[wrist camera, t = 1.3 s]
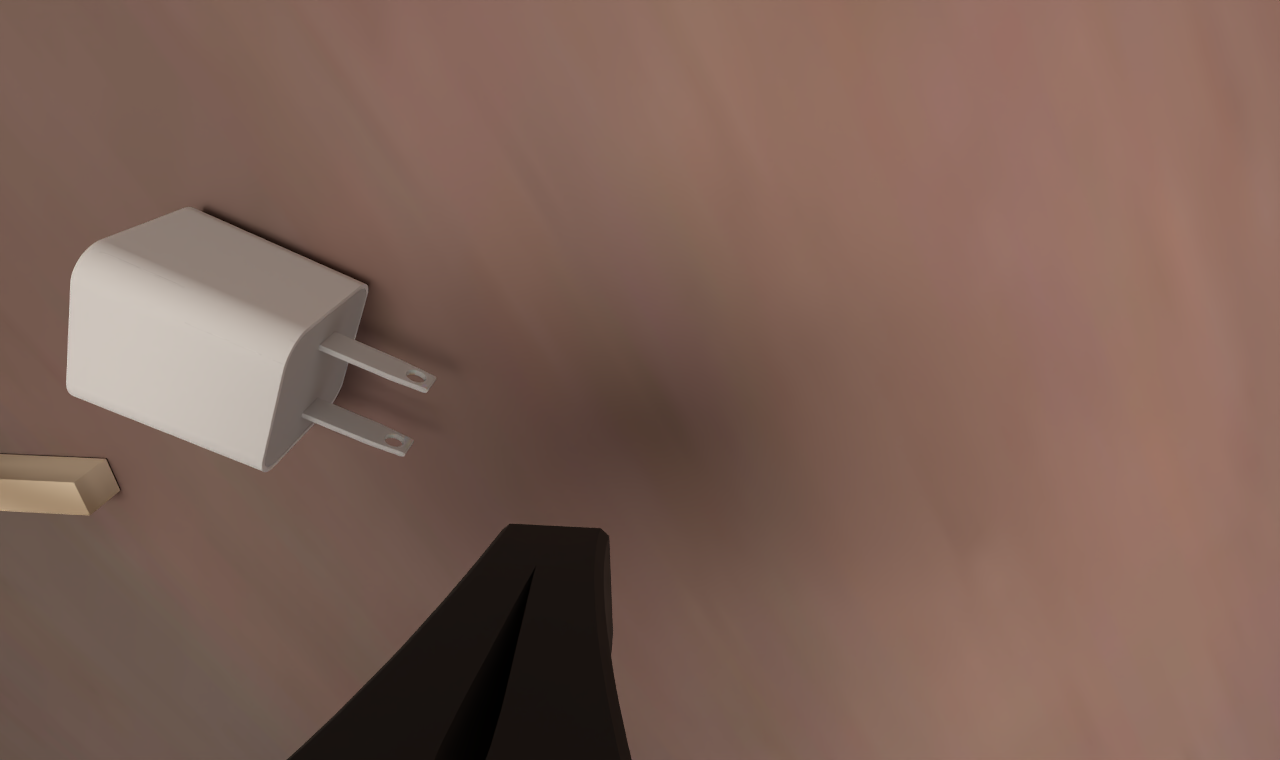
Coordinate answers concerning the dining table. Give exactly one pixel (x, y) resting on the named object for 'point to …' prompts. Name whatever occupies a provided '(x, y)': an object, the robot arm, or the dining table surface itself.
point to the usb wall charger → (221, 338)
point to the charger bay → (55, 484)
